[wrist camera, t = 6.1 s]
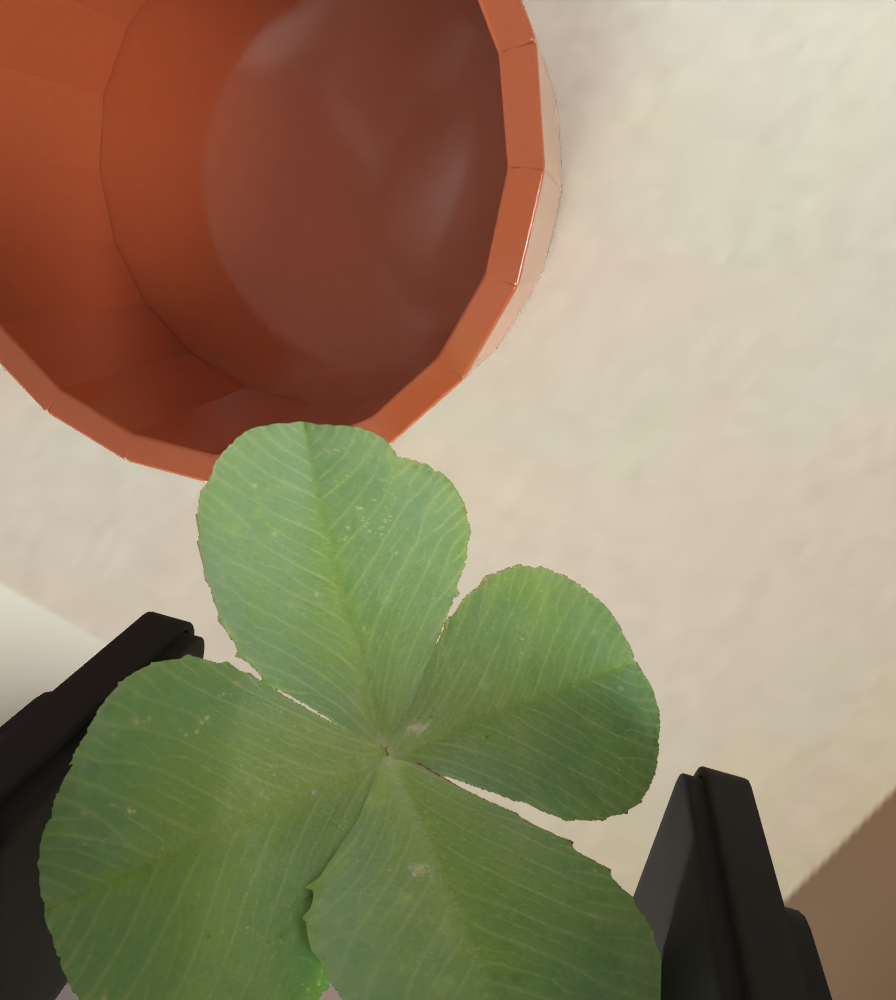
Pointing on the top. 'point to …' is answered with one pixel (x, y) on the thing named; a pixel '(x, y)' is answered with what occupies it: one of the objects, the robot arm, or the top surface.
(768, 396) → the top surface
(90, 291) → the planter
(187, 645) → the robot arm
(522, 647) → the green leafy piece
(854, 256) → the top surface
